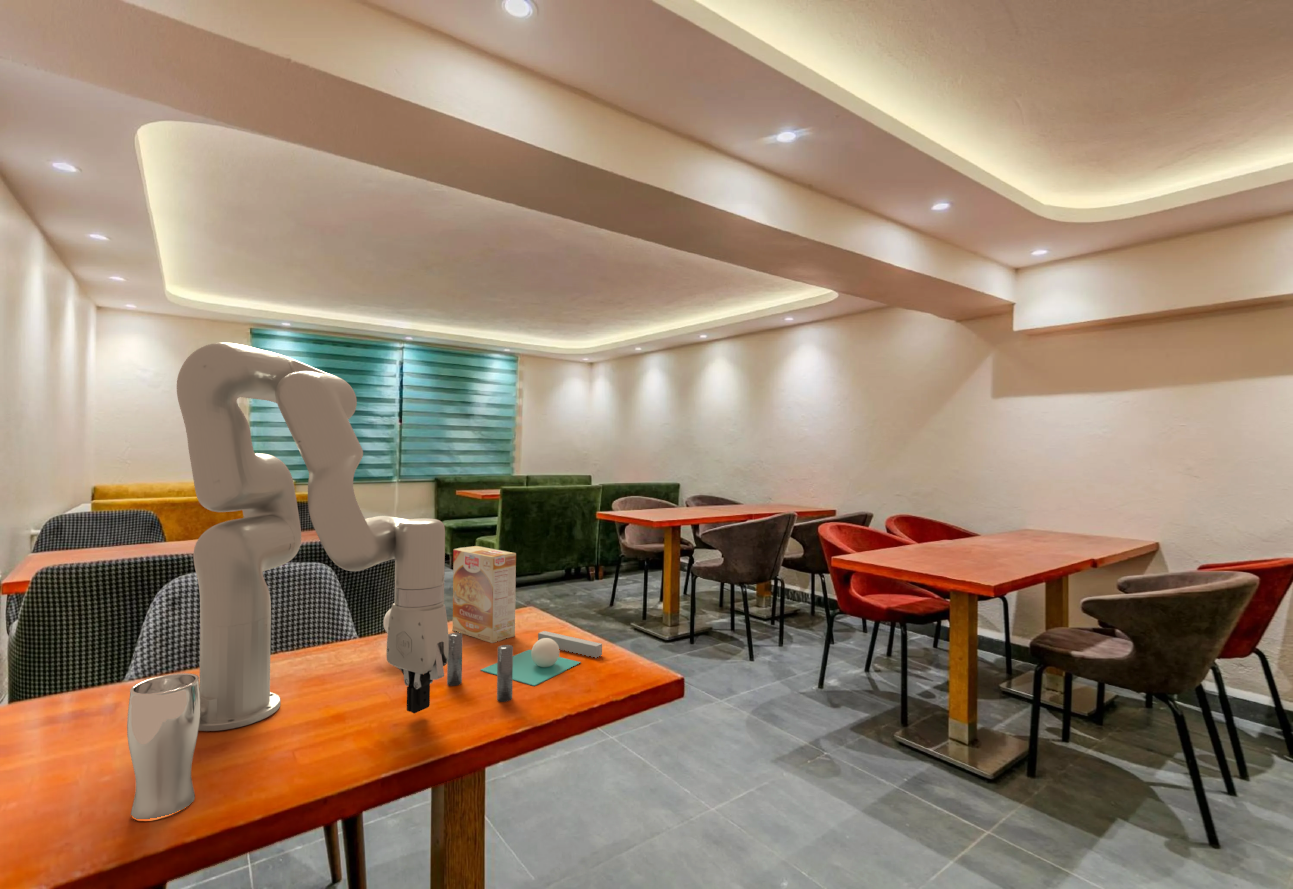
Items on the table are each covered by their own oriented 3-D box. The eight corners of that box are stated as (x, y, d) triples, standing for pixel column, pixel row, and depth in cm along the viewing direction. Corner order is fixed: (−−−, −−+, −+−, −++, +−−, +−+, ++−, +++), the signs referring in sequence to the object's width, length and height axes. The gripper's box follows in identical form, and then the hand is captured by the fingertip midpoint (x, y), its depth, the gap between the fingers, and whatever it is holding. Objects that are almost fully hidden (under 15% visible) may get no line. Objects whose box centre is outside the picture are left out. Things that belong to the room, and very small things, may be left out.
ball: (565, 665, 121) (546, 672, 117) (545, 661, 124) (525, 668, 120) (564, 636, 122) (545, 643, 117) (544, 633, 125) (524, 640, 120)
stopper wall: (596, 658, 126) (596, 646, 126) (538, 644, 134) (538, 633, 134) (601, 655, 127) (602, 643, 127) (543, 642, 136) (544, 630, 136)
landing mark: (534, 686, 111) (534, 685, 111) (480, 670, 118) (480, 669, 118) (580, 663, 123) (580, 662, 123) (529, 650, 130) (529, 649, 130)
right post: (504, 703, 103) (505, 650, 103) (493, 699, 105) (494, 648, 105) (515, 697, 106) (516, 646, 106) (504, 694, 107) (505, 643, 107)
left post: (453, 687, 110) (454, 637, 110) (444, 684, 111) (444, 635, 111) (464, 682, 112) (465, 634, 112) (455, 679, 114) (455, 631, 114)
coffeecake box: (451, 630, 143) (452, 548, 143) (475, 624, 149) (476, 545, 149) (491, 644, 134) (492, 556, 134) (516, 636, 140) (517, 552, 140)
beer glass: (149, 830, 69) (150, 699, 69) (112, 816, 71) (113, 689, 71) (212, 797, 75) (214, 677, 75) (176, 785, 78) (178, 669, 78)
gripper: (370, 594, 98) (368, 706, 98) (431, 608, 90) (430, 730, 90) (409, 585, 104) (408, 691, 104) (470, 597, 97) (468, 711, 97)
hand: (418, 709), depth 97 cm, fingers closed
